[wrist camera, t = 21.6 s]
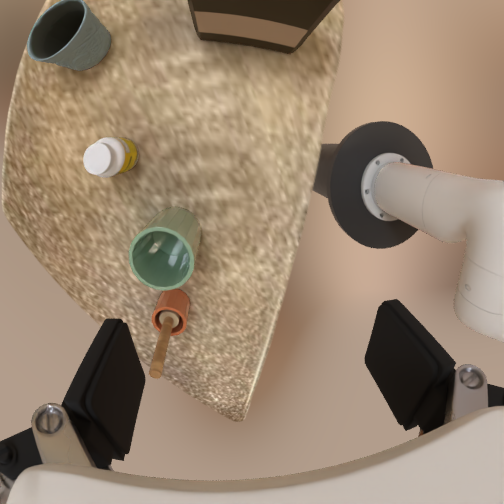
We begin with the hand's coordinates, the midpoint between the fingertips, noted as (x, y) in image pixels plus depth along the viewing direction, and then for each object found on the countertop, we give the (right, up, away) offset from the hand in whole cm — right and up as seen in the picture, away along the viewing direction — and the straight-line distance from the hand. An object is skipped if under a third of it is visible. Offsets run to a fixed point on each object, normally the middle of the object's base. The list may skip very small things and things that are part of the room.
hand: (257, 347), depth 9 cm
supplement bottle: (-20, +18, +27) cm, 38 cm away
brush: (-14, -6, +36) cm, 39 cm away
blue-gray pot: (-27, +36, +19) cm, 49 cm away
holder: (-14, -5, +37) cm, 40 cm away
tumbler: (-12, +6, +32) cm, 35 cm away
